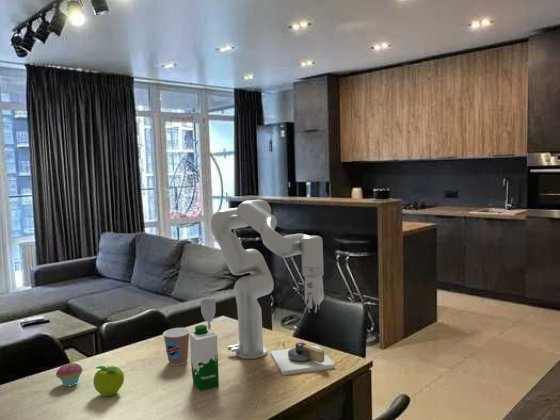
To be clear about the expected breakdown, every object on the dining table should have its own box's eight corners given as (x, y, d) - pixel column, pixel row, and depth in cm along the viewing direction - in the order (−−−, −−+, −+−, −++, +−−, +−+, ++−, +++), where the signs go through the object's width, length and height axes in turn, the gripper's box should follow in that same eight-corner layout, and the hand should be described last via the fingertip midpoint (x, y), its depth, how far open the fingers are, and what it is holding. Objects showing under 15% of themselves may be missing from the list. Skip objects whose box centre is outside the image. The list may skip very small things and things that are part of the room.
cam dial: (282, 357, 181) (282, 344, 181) (300, 350, 188) (300, 337, 188) (313, 369, 170) (313, 355, 169) (331, 360, 176) (331, 347, 176)
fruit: (107, 403, 153) (105, 373, 153) (89, 396, 158) (87, 367, 158) (130, 391, 161) (128, 363, 160) (112, 385, 166) (110, 358, 165)
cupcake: (88, 380, 172) (86, 348, 171) (71, 390, 164) (68, 357, 163) (69, 377, 175) (67, 346, 174) (51, 387, 166) (48, 354, 166)
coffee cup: (159, 365, 183) (157, 335, 182) (174, 355, 192) (173, 326, 191) (181, 368, 179) (180, 337, 178) (196, 358, 188) (194, 328, 187)
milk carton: (213, 377, 170) (210, 322, 169) (222, 386, 162) (219, 329, 161) (189, 382, 166) (186, 327, 165) (197, 393, 158) (194, 334, 157)
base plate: (282, 375, 169) (281, 370, 169) (270, 354, 189) (270, 350, 188) (334, 368, 174) (334, 363, 174) (318, 348, 193) (318, 344, 193)
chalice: (219, 338, 210) (217, 298, 209) (216, 343, 203) (214, 302, 202) (203, 338, 211) (201, 298, 209) (199, 344, 204) (197, 303, 203)
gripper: (318, 276, 158) (320, 329, 159) (327, 266, 173) (329, 315, 175) (296, 275, 160) (298, 328, 162) (307, 266, 176) (309, 314, 177)
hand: (314, 321), depth 168 cm, fingers open, 2 cm apart
